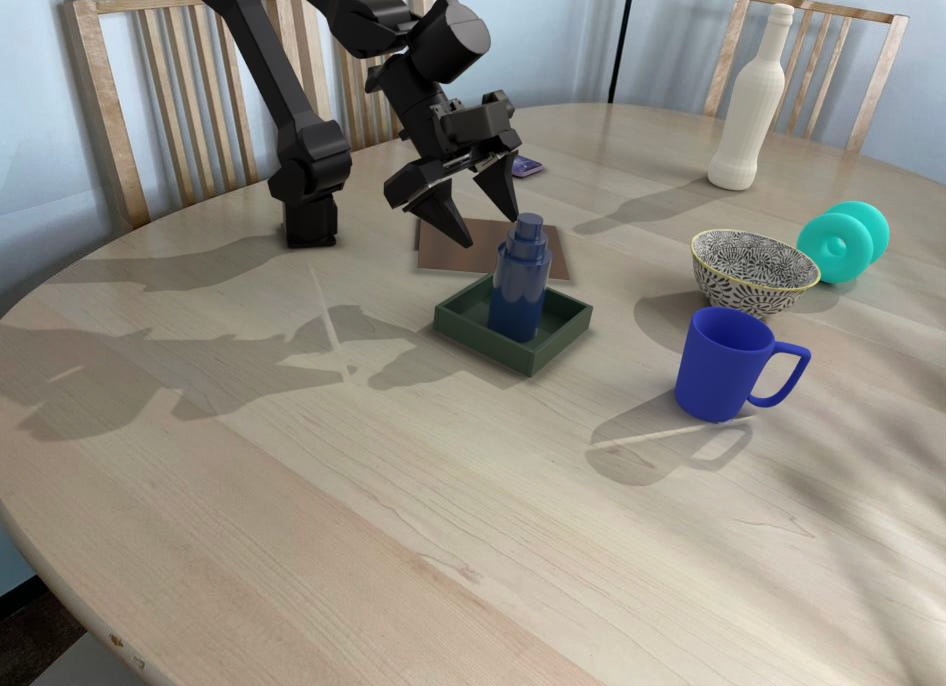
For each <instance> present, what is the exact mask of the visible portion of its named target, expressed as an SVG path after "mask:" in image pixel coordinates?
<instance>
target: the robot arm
mask: <svg viewBox="0 0 946 686" xmlns="http://www.w3.org/2000/svg"><path fill="white" fill-rule="evenodd" d="M200 1H201V2H203V3H204V4H205V5H206V6H208V7H209V8H210V9H212V10H213V12H215V13H216V14H217V15H219V16H220V17H222V19H223V21H224V22H225V25H226V27H227V29H228V31H229V33H230V36H231V37H232V39H233V41H234V43H235V45H236V47H237V49H238V51H239V53H240V55H241V57H242V59H243V61H244V63H245V65H246V67H247V69H248V71H249V74H250V75H251V77H252V80H253V82H254V84H255V85H256V87H257V90H258V92H259V95H260V96H261V98H262V100H263V102H264V104H265V106H266V108H267V110H268V112H269V114H270V116H271V118H272V119H273V122H274V124H275V126H276V129H277V140H276V141H277V143H276V157H277V160H278V162H279V164H280V168H278V170H277V171H276V172H274V173H273V174H272V175H271V176H270V177H269V178H268V179H267V181H266V184H267V187H268V190H269V194H270V196H271V198H273V199H275V200H276V201H277V200H278V201H279V202H281V205H282V206H281V207H282V222H281V223H280V228H281V232H282V235H283V238H284V241H285V244H286V247H287V248H290V249H292V248H308V247H322V246H335V245H337V238H336V235H338V233H339V231H338V230H339V227H338V226H339V221H338V220H339V207H338V205H337V203H336V200H335V199H334V195H333V194H334V193H337V192H341V191H343V190H344V188H345V185H346V182H347V180H348V179H349V177H350V175H351V173H352V171H351V170H352V167H353V166H354V165H353V163H354V162H353V158H352V156H351V152H350V150H352V147H351V145H350V144H349V143H348V142H347V140H346V138H345V137H344V134H343V132H342V129H341V126H340V124H339V123H338V122H337V120H336V119H329V120H326V121H325V120H324V119H323V118H321V117H320V116H319V115H318V114H316V112H315V111H314V108H313V107H312V105H311V103H310V101H309V99H308V97H307V94H306V93H305V91H304V89H303V86H302V84H301V82H300V80H299V78H298V76H297V74H296V72H295V70H294V68H293V66H292V64H291V61H290V59H289V57H288V55H287V52H286V51H285V48H284V47H283V45H282V42H281V41H280V38H279V36H278V34H277V32H276V30H275V28H274V26H273V24H272V22H271V20H270V17H269V15H268V14H267V11H266V9H265V7H264V5H263V3H262V0H200ZM305 1H306V2H307V3H309V4H310V5H311V6H312V7H314V8H315V9H316V10H318V12H320V14H321V15H322V16H323V17H324V18H325V19H326V23H327V26H328V29H329V32H330V34H331V35H332V36H333V38H335V40H336V41H337V42H338V43H339V44H340V45H341V46H342V47H343V48H344V49H345V51H346V52H347V53H348V54H350V55H351V56H352V57H354V58H355V59H358V60H366V59H372V58H377V57H382V56H386V55H390V54H392V55H390V56H389V57H388V58H387V59H386V60H385V61H384V62H383V63H382V64H376V65H372V66H369V67H367V75H366V76H367V77H366V80H365V82H364V89H363V91H364V93H365V94H367V95H370V94H373V93H377V92H381V91H382V93H383V94H384V96H385V98H386V99H387V101H388V103H389V105H390V107H391V108H392V110H393V112H394V114H395V115H396V118H397V119H398V120H399V122H400V124H401V126H402V127H403V128H402V129H401V130H400V131H399V132H398V133H397V135H398V137H399V138H400V140H401V142H406V141H408V140H410V141H411V144H412V145H413V147H414V149H415V150H416V152H417V154H418V156H419V157H420V158H417V159H415V160H412V161H410V162H407V163H406V164H405V165H404V166H402V167H401V168H400V169H399V170H398V171H395V173H394V174H393V175H391V176H390V177H388V178H387V179H386V180H385V181H384V182H383V190H382V191H383V192H382V194H383V196H384V197H385V199H386V202H387V203H388V205H389V206H390V208H391V210H395V209H398V208H399V207H401V206H403V207H401V211H402V212H403V213H404V214H406V213H410V214H412V215H414V216H415V217H417V218H419V219H420V220H421V219H422V220H424V221H425V222H427V223H429V224H430V225H432V226H434V227H435V228H437V229H438V230H440V231H441V232H442V233H444V234H445V235H447V236H448V237H449V238H451V239H452V240H454V241H455V242H457V243H458V244H459V245H461V246H462V247H464V248H466V249H467V248H469V247H471V246H472V245H473V241H472V238H471V236H470V233H469V231H468V229H467V227H466V225H465V223H464V221H463V219H462V218H463V217H462V215H461V213H460V211H459V209H458V208H457V205H456V203H455V202H454V199H453V197H452V195H453V194H452V193H453V178H452V177H450V176H452V175H455V174H457V173H459V172H462V171H464V170H468V171H470V172H472V173H473V174H476V175H475V176H473V177H472V178H471V179H472V180H473V182H474V183H475V184H476V185H477V186H478V187H479V188H480V189H481V191H482V192H483V193H484V194H485V195H486V196H487V197H488V199H489V200H490V201H491V202H492V203H493V204H494V206H495V207H496V208H497V209H498V211H500V212H501V213H502V214H503V216H504V217H505V218H506V219H507V220H509V222H512V223H514V222H517V216H518V215H519V214H520V211H519V205H518V200H517V196H516V191H515V186H514V180H513V174H512V167H513V163H514V160H515V157H516V156H517V155H520V154H519V152H520V150H519V149H518V148H519V147H520V146H522V145H523V141H522V140H521V138H520V136H519V133H518V132H517V131H516V129H515V128H513V127H511V122H510V120H511V119H512V118H513V116H514V113H515V111H516V108H515V105H513V103H512V102H511V100H510V98H509V97H508V95H507V94H506V92H505V91H504V90H503V89H502V88H501V89H497V90H494V91H490V92H487V93H484V94H483V95H482V97H481V104H478V105H474V106H471V107H467V108H466V107H465V106H464V104H463V102H462V100H460V99H459V98H457V97H455V98H452V99H449V98H448V96H447V95H446V93H445V91H444V89H443V88H442V86H441V85H450V84H452V83H453V82H454V81H456V80H457V79H458V78H460V76H462V74H464V73H465V72H466V71H467V70H468V69H470V67H472V66H473V65H474V64H475V63H476V62H477V61H479V60H480V59H481V58H482V57H483V56H485V55H486V54H487V53H488V52H489V51H490V49H491V46H492V40H491V39H492V38H491V37H492V36H491V33H490V31H489V28H488V26H487V24H486V23H485V21H484V19H483V18H480V17H479V16H478V15H477V13H475V12H474V11H473V10H472V9H471V8H470V7H468V6H467V5H464V4H462V3H460V1H459V0H435V1H434V3H433V4H432V6H431V7H430V9H429V10H428V11H427V12H426V13H425V14H423V16H422V15H420V14H418V13H415V12H414V11H411V9H410V8H409V6H408V4H407V3H406V2H405V1H404V0H305ZM406 48H407V50H405V49H406ZM404 50H405V51H404ZM401 51H404V53H401ZM399 52H400V53H399ZM448 177H450V178H448ZM446 178H447V179H446ZM444 179H445V180H444ZM404 205H405V206H404Z"/></svg>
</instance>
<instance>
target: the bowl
mask: <svg viewBox="0 0 946 686" xmlns="http://www.w3.org/2000/svg"><path fill="white" fill-rule="evenodd" d="M689 247H690V252H691V256H692V257H691V258H692V269H693V274H694V275H693V276H694V279H695V282H696V284H697V287H698V288H699V290H700V291H701V293H702V294H703V295H704V296H705V297H706V298H707V299H708V300H709V304H710V305H711V307H726V308H731V309H736V310H739V311H742V312H745V313H747V314H750V315H752V316H754V317H756V318H757V319H759V320H761V319H762V318H763V317H768V316H772V315H775V314H778V313H781V312H783V311H785V310H787V309H788V308H790V307H791V306H793V305H794V304H795V303H796V302H798V300H799V299H801V298H802V296H804V294H806V292H808V290H810V289H811V288H812V287H814V286H815V285H816V284H818V283H819V281H820V277H821V273H820V270H819V268H818V266H817V265H816V264H815V263H814V262H813V261H812V260H811V259H810V258H809V257H808V256H806V255H805V254H804V253H802V252H801V251H799V250H797V249H796V247H794V246H793V245H791V244H788V243H785V242H784V241H781V240H778V239H776V238H773V237H770V236H767V235H764V234H761V233H757V232H752V231H747V230H741V229H731V228H715V229H714V228H713V229H708V230H704V231H701V232H699V233H697V234H696V235H694V236H693V237H692V239H691V240H690V244H689Z"/></svg>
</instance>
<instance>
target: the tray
mask: <svg viewBox="0 0 946 686" xmlns="http://www.w3.org/2000/svg"><path fill="white" fill-rule="evenodd" d="M493 277H494V270H493V271H491V272H490V273H486V274H485V275H484V276H482V277H480V278H479V279H477V280H475V281H474V282H472V283H470V284H469V285H467V286H465V287H463V288H462V289H460V290H459V291H458V292H456V293H453V295H451V296H449V297H448V298H445V299H444V300H443V301H441V302H440V303H438V304H437V305H434V312H433V313H434V314H433V325H432V330H434V331H436V332H438V333H440V334H442V335H444V336H446V337H448V338H450V339H452V340H454V341H456V342H458V343H460V344H462V345H463V346H466V347H468V348H470V349H472V350H474V351H476V352H478V353H480V354H482V355H484V356H486V357H488V358H490V359H493V360H494V361H496V362H498V363H500V364H502V365H504V366H505V367H508V368H511V369H512V370H514V371H516V372H518V373H520V374H522V375H525V376H526V377H528V378H533V377H534V376H535V375H536V374H537V373H538V372H539V371H541V370H542V369H543V368H544V367H545V366H547V365H548V364H549V363H550V362H551V361H552V360H553V359H555V358H556V357H557V356H558V355H559V354H560V353H562V352H563V351H564V350H565V349H566V348H567V347H569V346H570V345H571V344H572V343H573V342H575V341H576V340H577V339H578V338H579V337H581V335H583V334H584V333H585V332H586V331H587V330H589V328H590V324H591V319H592V315H593V311H594V305H591V304H589V303H586V302H584V301H582V300H579V299H577V298H575V297H573V296H570V295H568V294H565V293H564V292H561V291H559V290H556V289H554V288H552V287H550V286H547V287H546V293H545V298H544V303H543V309H542V314H541V319H540V324H539V330H538V334H537V336H536V337H535V338H534V339H532V340H530V341H527V342H522V343H517V342H515V341H513V340H511V339H509V338H507V337H505V336H503V335H501V334H499V333H497V332H494V331H492V330H490V329H488V328H487V320H488V313H489V306H490V299H491V291H492V284H493Z"/></svg>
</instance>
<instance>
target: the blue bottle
mask: <svg viewBox="0 0 946 686" xmlns="http://www.w3.org/2000/svg"><path fill="white" fill-rule="evenodd" d="M543 225H544V218H543V217H542V216H541V215H539V214H538V213H534V212H520V213H519V215H518V216H517V221H516V227H513V228H511V229H510V230H509V231H508V232H507V238H506V241H504V242H502V243H501V244H500V245H499V246H498V249H497V256H496V263H495V270H494V277H493V284H492V291H491V299H490V306H489V313H488V320H487V328H488V329H490V330H492V331H494V332H497V333H499V334H501V335H503V336H505V337H507V338H509V339H511V340H513V341H515V342H517V343H522V342H527V341H530V340H532V339H534V338H535V337H536V336H537V334H538V330H539V324H540V319H541V314H542V309H543V303H544V298H545V293H546V287H548V282H549V278H548V277H549V272H550V266H551V261H552V253H551V251H550V250H549V249H548V248H547V242H548V237H547V235H546V234H545V233H544V232H543V231H542V227H543Z"/></svg>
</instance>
